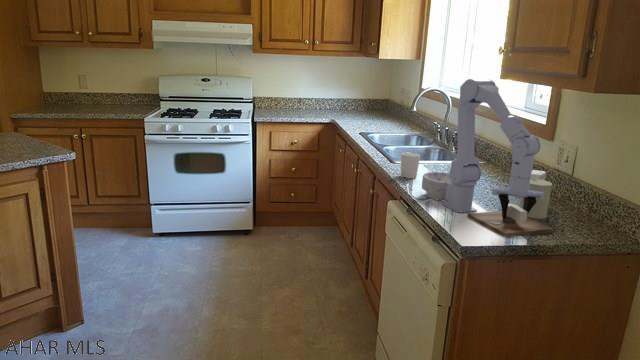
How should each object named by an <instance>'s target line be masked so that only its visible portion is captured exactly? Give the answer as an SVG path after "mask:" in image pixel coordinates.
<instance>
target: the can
mask: <svg viewBox="0 0 640 360" xmlns="http://www.w3.org/2000/svg"><path fill="white" fill-rule="evenodd" d="M552 187H553V183H552V182H551V181H548V180H546V179H545V180H540V179H530V184H529V190H534V191H540V192H543V193H544V197H543V199H539V198H536V200H537V201H536V204H535V205H534V206H533V207H532V208H531V210H530V211H529V213H528V215H527V217H528V218H530V219H538V220H539V219H540V220H541V219H546V218H547V217H548V209H549V203H550V196H551V193H552ZM523 204H524V197H520V200H519V205H518V206H520V208H522V209H523Z"/></svg>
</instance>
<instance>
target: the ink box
mask: <svg viewBox="0 0 640 360" xmlns="http://www.w3.org/2000/svg"><path fill="white" fill-rule="evenodd" d="M546 176H547V171H545V170H544V171H543V170H537V169H532V173H531V179H540V180H545V181H546Z"/></svg>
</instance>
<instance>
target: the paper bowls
mask: <svg viewBox="0 0 640 360" xmlns="http://www.w3.org/2000/svg"><path fill="white" fill-rule="evenodd" d="M449 182H451V180H450V177H449V172H443V171H431V172H430V171H429V172H426V173H424V174H423V175H422V181H421V189H422V190H423V191H425V192H426V195H427V196H428V197H429V198H431V199H432V200H433V199H434V200H436V199H437V201H442V200H443V201H444V202H445V195H446V188H447V185H448V184H449ZM443 201H442V202H443Z"/></svg>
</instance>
